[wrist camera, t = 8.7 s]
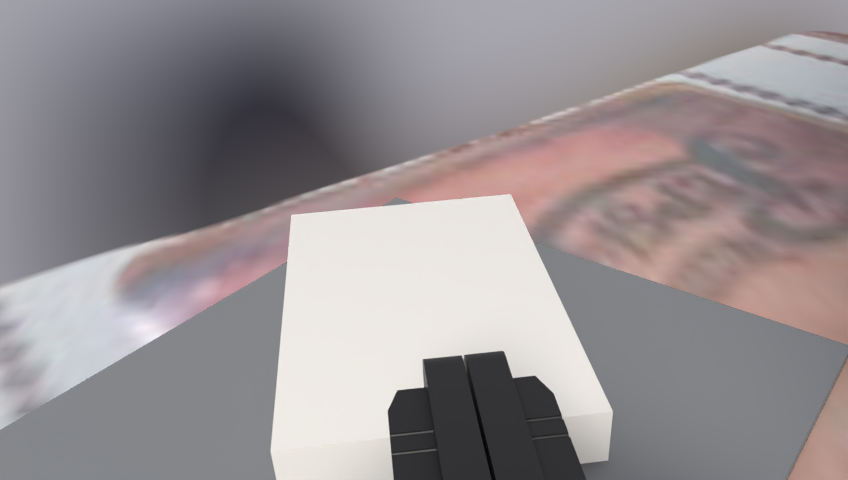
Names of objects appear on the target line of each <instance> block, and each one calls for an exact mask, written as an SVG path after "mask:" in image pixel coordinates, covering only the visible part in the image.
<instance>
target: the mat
mask: <svg viewBox="0 0 848 480" xmlns="http://www.w3.org/2000/svg"><path fill="white" fill-rule="evenodd" d="M402 204H412V203H411V202H408V201H405V200H402V199H399V198H395V199H393V200H392V201H390V202H388V203H386V204H385V205H383V206H391V205H402ZM533 243H534V242H533ZM534 245H535V247H536V249H537V251H538V253H539V256H540V258H541V260H542V262H543V264H544V266H545V268H546V270H547V273H548V275H549V277H550V279H551V281H552V283H553V285H554V287H555V290H556V292H557V294H558V296H559V298H560V300H561V302H562V304H563V307H564V309H565V311H566V313H567V315H568V317H569V319H570V321H571V323H572V326H573V328H574V330H575V332H576V334H577V336H578V338H579V340H580V343H581V345H582V347H583V349H584V351H585V353H586V355H587V357H588V360H589V362H590V364H591V366H592V368H593V370H594V372H595V374H596V377H597V379H598V381H599V383H600V385H601V387H602V389H603V391H604V393H605V396H606V398H607V400H608V402H609V404H610V406H611V408H612V410H613V417H612V427H611V437H610V447H609V457H608V461H600V462H592V463H583V464H581V467H582V469H583V472H584V475H585V477H586V480H787V479H788V477H789V475H790V473H791V471H792V469H793V467H794V465H795V463H796V461H797V459H798V457H799V455H800V453H801V451H802V449H803V447H804V445H805V443H806V441H807V439H808V437H809V435H810V433H811V431H812V429H813V427H814V425H815V423H816V421H817V419H818V417H819V415H820V413H821V411H822V408H823V406H824V404H825V402H826V400H827V398H828V396H829V394H830V392H831V390H832V388H833V386H834V384H835V382H836V380H837V378H838V376H839V374H840V372H841V370H842V368H843V366H844V364H845V362H846V360H847V358H848V345H846V344H843V343H840V342H837V341H834V340H831V339H828V338H824V337H821V336H818V335H815V334H812V333H809V332H806V331H803V330H800V329H797V328H794V327H791V326H788V325H785V324H782V323H779V322H775V321H772V320H769V319H766V318H763V317H760V316H757V315H754V314H751V313H748V312H745V311H742V310H739V309H736V308H733V307H730V306H727V305H723V304H720V303H717V302H714V301H711V300H708V299H705V298H702V297H699V296H696V295H693V294H690V293H687V292H684V291H681V290H678V289H675V288H671V287H668V286H665V285H662V284H659V283H656V282H653V281H650V280H647V279H644V278H641V277H638V276H635V275H632V274H629V273H626V272H623V271H619V270H616V269H613V268H610V267H607V266H604V265H601V264H598V263H595V262H592V261H589V260H586V259H583V258H580V257H577V256H574V255H571V254H567V253H564V252H561V251H558V250H555V249H552V248H549V247H546V246H543V245H540V244H537V243H534ZM286 271H287V262H286V263H284V264H282V265H281V266H279V267H277V268H276V269H274V270H272V271H271V272H269V273H267V274H265V275H264V276H262V277H260V278H259V279H257V280H255V281H254V282H252V283H250V284H248V285H247V286H245V287H243V288H242V289H240V290H238V291H236V292H235V293H233V294H231V295H230V296H228V297H226V298H225V299H223V300H221V301H219V302H218V303H216V304H214V305H213V306H211V307H209V308H207V309H206V310H204V311H202V312H201V313H199V314H197V315H196V316H194V317H192V318H190V319H189V320H187V321H185V322H184V323H182V324H180V325H179V326H177V327H175V328H173V329H172V330H170V331H168V332H167V333H165V334H163V335H161V336H160V337H158V338H156V339H155V340H153V341H151V342H150V343H148V344H146V345H144V346H143V347H141V348H139V349H138V350H136V351H134V352H133V353H131V354H129V355H127V356H126V357H124V358H122V359H121V360H119V361H117V362H115V363H114V364H112V365H110V366H109V367H107V368H105V369H104V370H102V371H100V372H98V373H97V374H95V375H93V376H92V377H90V378H88V379H87V380H85V381H83V382H81V383H80V384H78V385H76V386H75V387H73V388H71V389H69V390H68V391H66V392H64V393H63V394H61V395H59V396H58V397H56V398H54V399H52V400H51V401H49V402H47V403H46V404H44V405H42V406H40V407H39V408H37V409H35V410H34V411H32V412H30V413H29V414H27V415H25V416H23V417H22V418H20V419H18V420H17V421H15V422H13V423H12V424H10V425H8V426H6V427H5V428H3V429H1V430H0V480H276V476H275V471H274V466H273V461H272V456H271V452H270V451H271V440H272V428H273V417H274V406H275V395H276V384H277V372H278V361H279V350H280V339H281V327H282V316H283V305H284V294H285V283H286Z"/></svg>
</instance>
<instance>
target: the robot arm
mask: <svg viewBox="0 0 848 480" xmlns="http://www.w3.org/2000/svg"><path fill="white" fill-rule="evenodd" d="M423 381H424V388H414V389H404V390H397V392H396V394H395V396H394V398H393V401H392V403H391V405H390V407H389V409H388V422H389V433H390V444H391V455H392V467H393V478H394V480H586V477H585V475H584V472H583V469H582V467H581V464H580V462H579V459H578V456H577V454H576V451H575V448H574V446H573V443H572V440H571V438H570V437H569V434H568V430H567V427H566V425H565V422H564V419H562V414H561V411H560V409H559V406H558V404H557V401H556V398H555V396H554V393H553V392H552V391H551V390H550V389H549V388H548V387H547V386H545V385H544V384H543V383H542V382H541V381H540V380H539V379H538V378H537V377H536V376H527V377H517V378H513V377H512V374H511V371H510V368H509V365H508V361H507V358H506V355H505V353H504V351H496V352H486V353H476V354H467V355H464V360H463V358H462V355H458V356H449V357H439V358H429V359H423Z"/></svg>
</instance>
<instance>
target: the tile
mask: <svg viewBox="0 0 848 480" xmlns="http://www.w3.org/2000/svg"><path fill="white" fill-rule="evenodd" d="M496 351H504V353H505V355H506V358H507V361H508V365H509V368H510V371H511V374H512V377H513V378H517V377H527V376H536V377H537V378H538V379H539V380H540V381H541V382H542V383H543V384H544V385H545V386H547V387H548V388H549V389H550V390H551V391H552V392H553V393H554V396H555V398H556V401H557V404H558V406H559V409H560V411H561V414H562V419H564V422H565V425H566V427H567V430H568V434H569V437H570V438H571V440H572V443H573V446H574V448H575V451H576V454H577V456H578V459H579V462H580V464H583V463H592V462H600V461H608V457H609V447H610V437H611V427H612V417H613V410H612V408H611V406H610V404H609V402H608V400H607V398H606V396H605V393H604V391H603V389H602V387H601V385H600V383H599V381H598V379H597V377H596V374H595V372H594V370H593V368H592V366H591V364H590V362H589V360H588V357H587V355H586V353H585V351H584V349H583V347H582V345H581V343H580V340H579V338H578V336H577V334H576V332H575V330H574V328H573V326H572V323H571V321H570V319H569V317H568V315H567V313H566V311H565V309H564V307H563V304H562V302H561V300H560V298H559V296H558V294H557V292H556V290H555V287H554V285H553V283H552V281H551V279H550V277H549V275H548V273H547V270H546V268H545V266H544V264H543V262H542V260H541V258H540V256H539V253H538V251H537V249H536V247H535V245H534V243H533V241H532V239H531V237H530V234H529V232H528V230H527V228H526V226H525V224H524V222H523V220H522V217H521V215H520V213H519V211H518V209H517V207H516V205H515V203H514V200H513V198H512V196H511V194H507V195H497V196H486V197H475V198H465V199H454V200H444V201H433V202H423V203H412V204H402V205H391V206H381V207H370V208H359V209H349V210H338V211H328V212H317V213H307V214H296V215H291V227H290V238H289V249H288V260H287V271H286V283H285V294H284V305H283V316H282V327H281V339H280V350H279V361H278V372H277V384H276V395H275V406H274V417H273V428H272V440H271V451H270V452H271V456H272V461H273V466H274V471H275V476H276V480H394V478H393V467H392V455H391V444H390V433H389V422H388V409H389V407H390V405H391V403H392V401H393V398H394V396H395V394H396V392H397V390H404V389H414V388H424V381H423V359H429V358H439V357H449V356H458V355H462V358H463V360H464V355H467V354H476V353H486V352H496Z"/></svg>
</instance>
